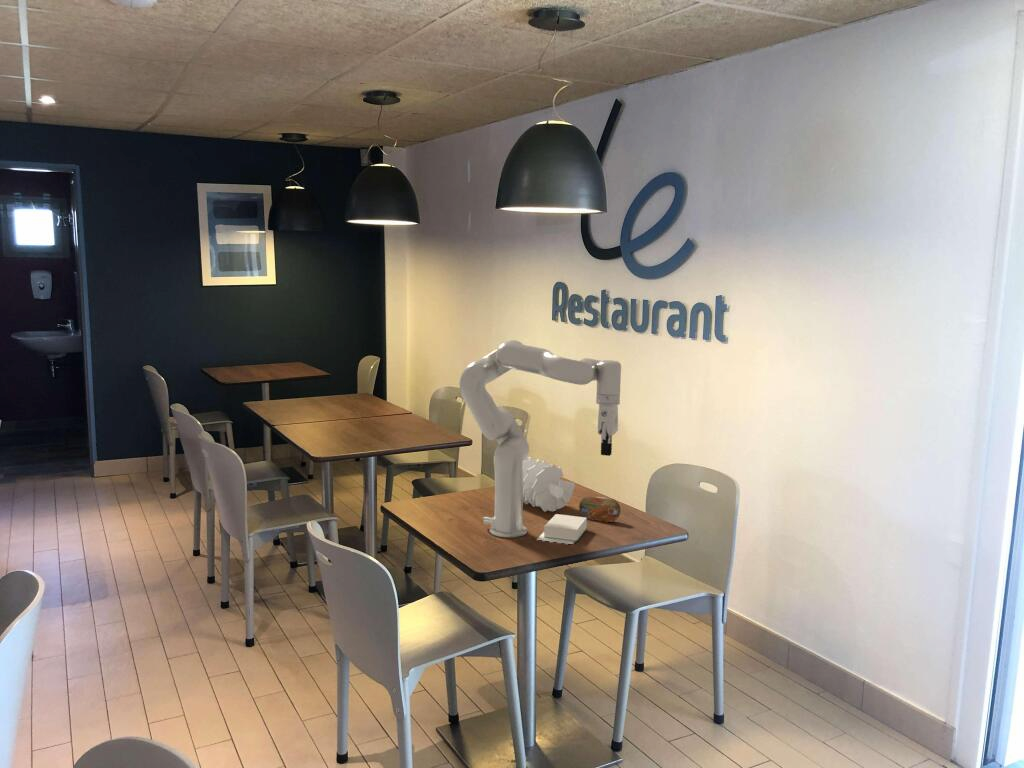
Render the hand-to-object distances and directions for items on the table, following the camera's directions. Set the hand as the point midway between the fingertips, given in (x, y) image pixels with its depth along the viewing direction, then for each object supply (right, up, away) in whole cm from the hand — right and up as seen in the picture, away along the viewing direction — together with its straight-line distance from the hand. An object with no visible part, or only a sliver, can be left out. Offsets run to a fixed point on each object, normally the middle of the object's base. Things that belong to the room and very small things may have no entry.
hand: (606, 454), depth 262 cm
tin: (+1, -26, +27) cm, 37 cm away
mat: (-14, -28, +11) cm, 33 cm away
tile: (-7, -26, +8) cm, 28 cm away
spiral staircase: (-21, -23, +42) cm, 53 cm away
